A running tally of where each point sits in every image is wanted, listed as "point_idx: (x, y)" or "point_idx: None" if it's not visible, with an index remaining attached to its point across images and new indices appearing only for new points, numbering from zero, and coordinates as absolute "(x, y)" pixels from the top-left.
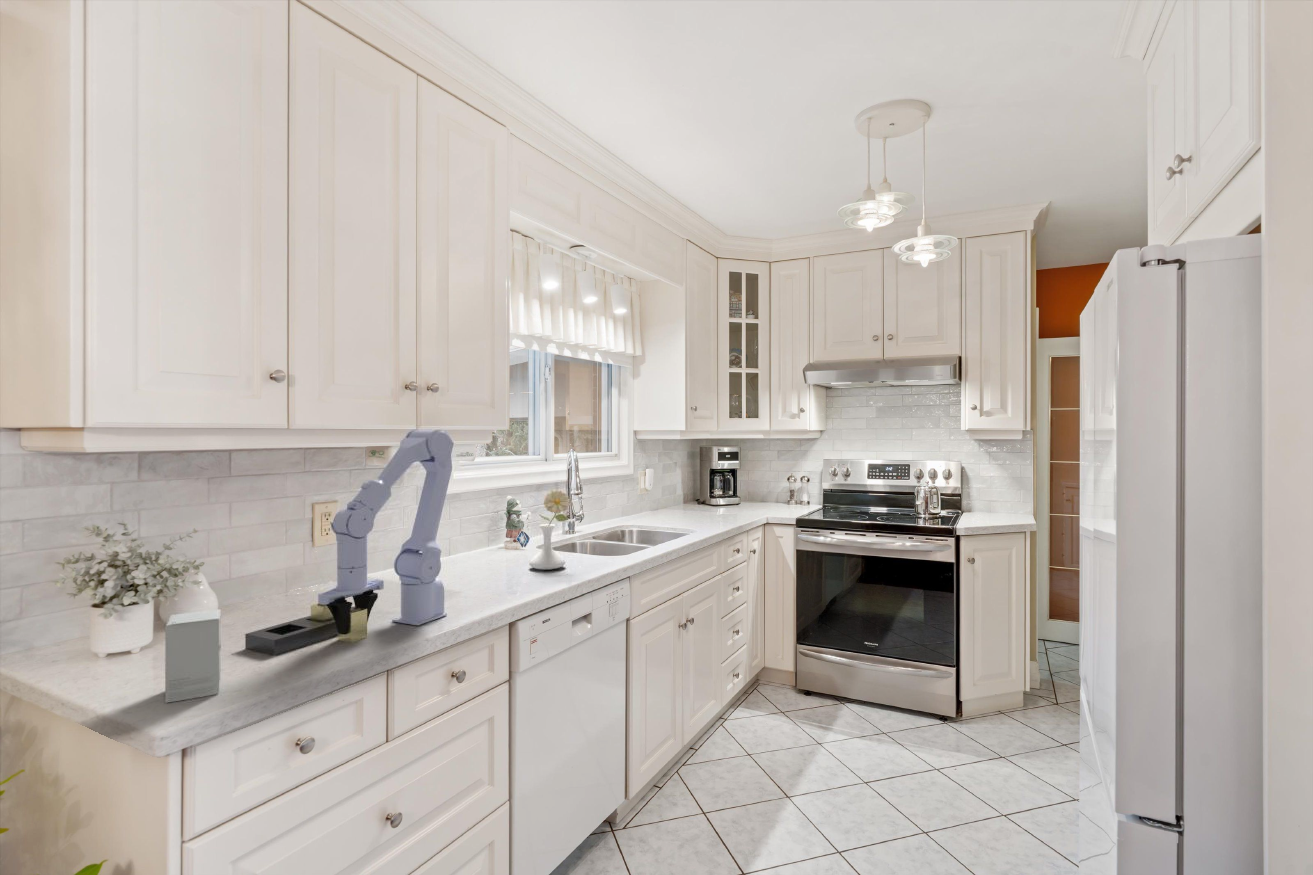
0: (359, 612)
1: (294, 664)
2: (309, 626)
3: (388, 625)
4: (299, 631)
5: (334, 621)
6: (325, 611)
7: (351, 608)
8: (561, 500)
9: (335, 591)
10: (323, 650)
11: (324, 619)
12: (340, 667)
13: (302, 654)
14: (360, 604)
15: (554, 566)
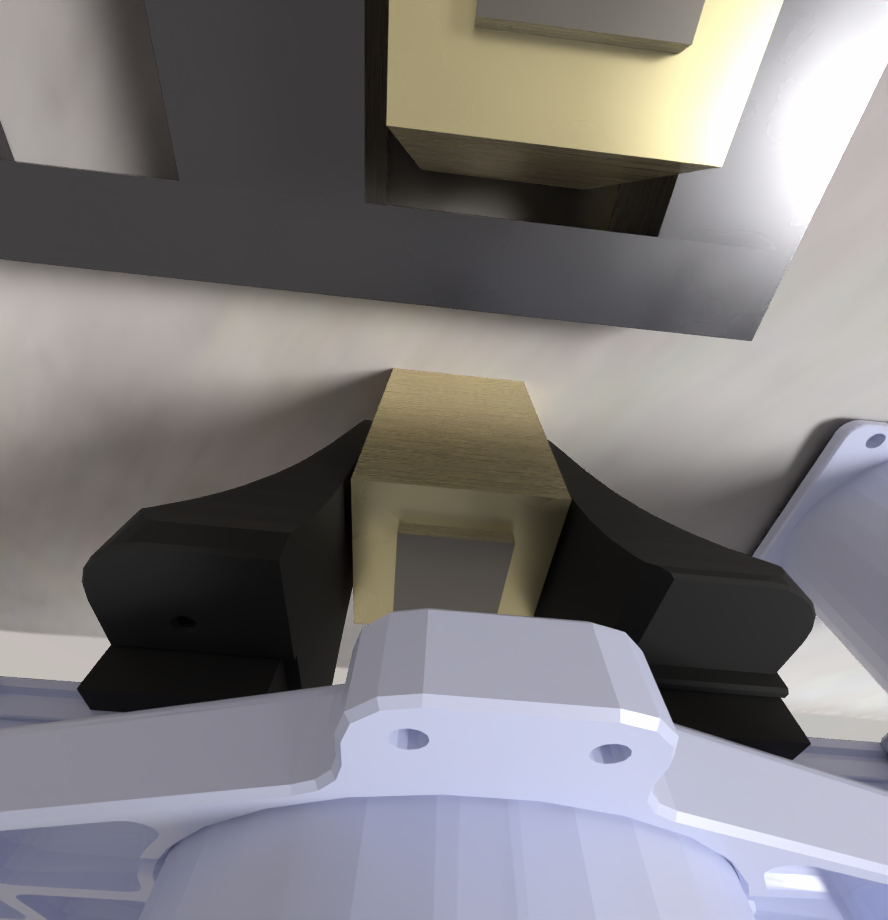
0: None
1: (15, 472)
2: (208, 166)
3: (747, 449)
4: (56, 226)
5: (457, 284)
6: (432, 144)
7: (451, 568)
8: None
9: (42, 893)
10: (219, 443)
11: (422, 155)
12: None
13: (103, 389)
14: (562, 595)
15: None
